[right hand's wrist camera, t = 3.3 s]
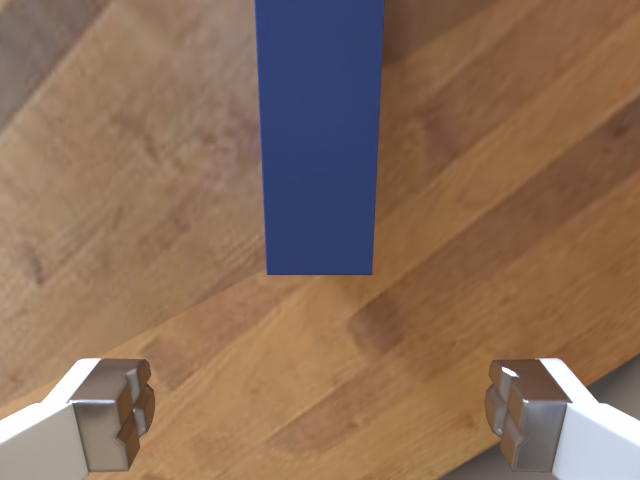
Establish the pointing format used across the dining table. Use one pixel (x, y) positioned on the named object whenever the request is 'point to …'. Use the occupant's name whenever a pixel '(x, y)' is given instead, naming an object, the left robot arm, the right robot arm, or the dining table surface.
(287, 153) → the box
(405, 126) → the dining table surface
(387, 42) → the dining table surface
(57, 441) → the right robot arm
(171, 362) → the dining table surface
